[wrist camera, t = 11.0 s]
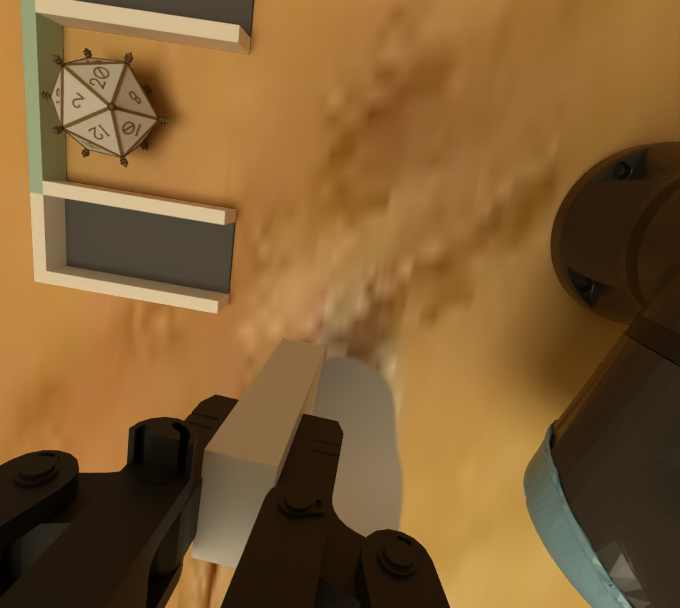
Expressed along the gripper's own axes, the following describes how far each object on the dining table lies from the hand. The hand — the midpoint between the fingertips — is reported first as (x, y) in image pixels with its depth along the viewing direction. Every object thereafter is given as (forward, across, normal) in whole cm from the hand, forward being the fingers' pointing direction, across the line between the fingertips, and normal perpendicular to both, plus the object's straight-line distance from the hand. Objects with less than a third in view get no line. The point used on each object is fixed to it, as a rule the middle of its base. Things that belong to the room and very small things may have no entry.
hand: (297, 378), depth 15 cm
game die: (+26, +22, -9) cm, 35 cm away
